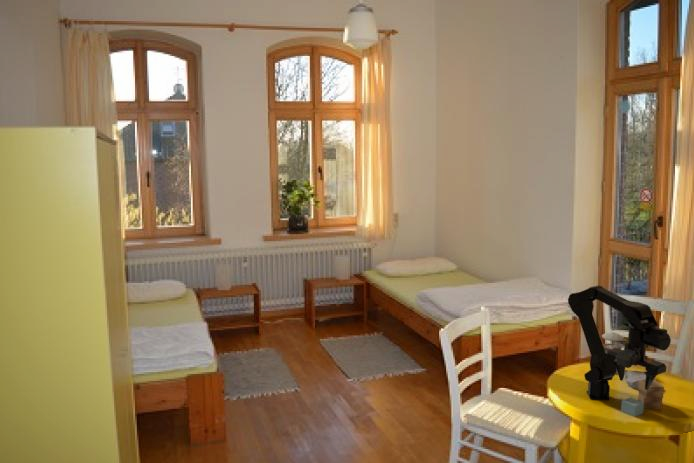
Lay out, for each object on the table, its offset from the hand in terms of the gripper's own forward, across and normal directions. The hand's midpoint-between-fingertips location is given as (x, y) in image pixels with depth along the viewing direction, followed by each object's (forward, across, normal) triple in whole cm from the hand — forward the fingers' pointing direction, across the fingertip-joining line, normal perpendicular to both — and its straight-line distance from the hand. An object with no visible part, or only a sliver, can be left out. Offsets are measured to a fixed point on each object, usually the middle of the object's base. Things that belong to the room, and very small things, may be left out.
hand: (633, 384), depth 214 cm
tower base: (+10, 0, +11) cm, 15 cm away
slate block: (+10, 0, 0) cm, 10 cm away
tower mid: (+6, 0, +11) cm, 12 cm away
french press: (+10, -27, +28) cm, 40 cm away
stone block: (+10, -13, +24) cm, 30 cm away
